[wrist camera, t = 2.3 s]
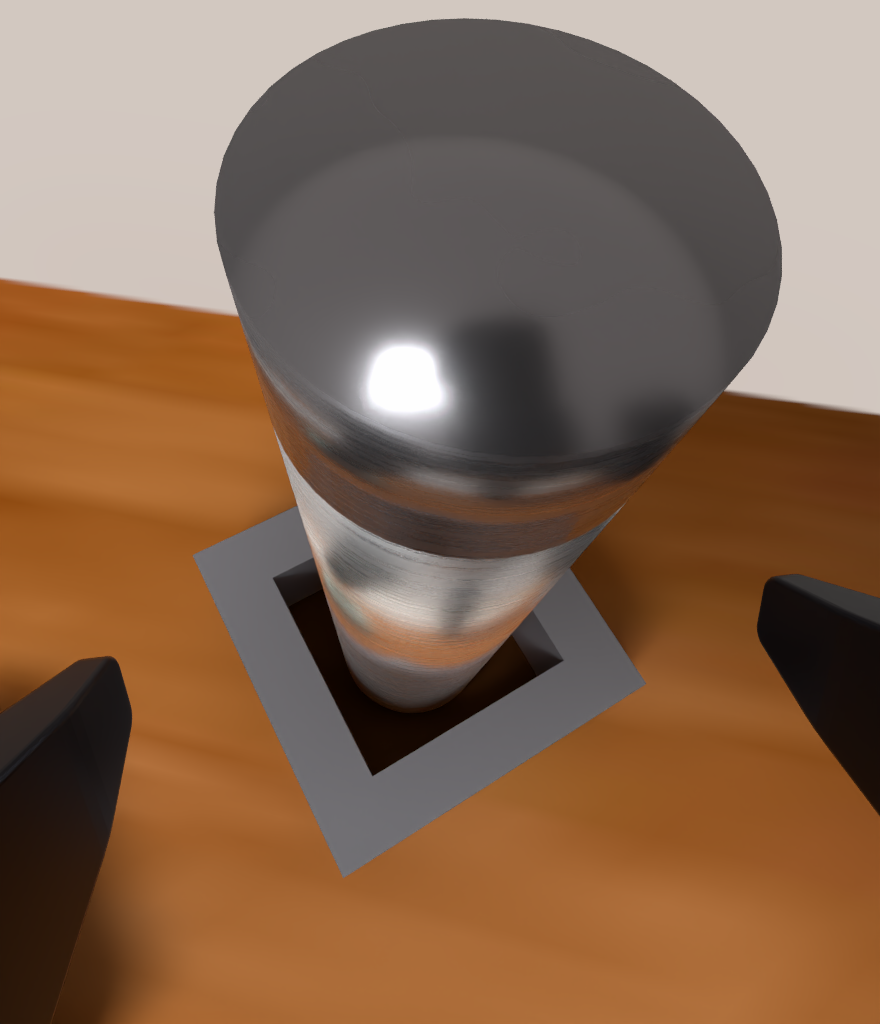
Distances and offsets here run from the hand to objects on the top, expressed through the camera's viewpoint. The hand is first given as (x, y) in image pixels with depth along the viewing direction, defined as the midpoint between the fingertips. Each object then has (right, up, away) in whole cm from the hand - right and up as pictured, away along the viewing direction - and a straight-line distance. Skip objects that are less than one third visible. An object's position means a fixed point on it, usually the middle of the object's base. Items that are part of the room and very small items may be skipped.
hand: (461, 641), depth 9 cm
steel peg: (-1, -2, +10) cm, 11 cm away
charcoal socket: (-1, -2, +10) cm, 11 cm away
